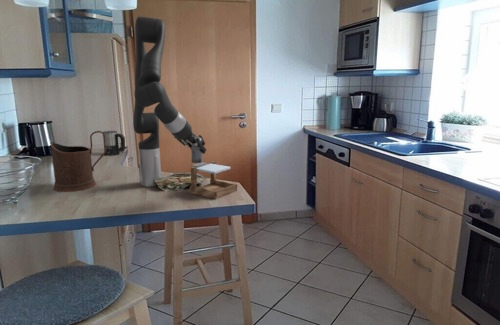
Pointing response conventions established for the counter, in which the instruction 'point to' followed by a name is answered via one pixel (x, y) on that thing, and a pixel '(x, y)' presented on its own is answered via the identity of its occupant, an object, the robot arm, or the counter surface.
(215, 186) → the stand
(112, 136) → the milk frother
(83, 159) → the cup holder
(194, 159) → the cylinder
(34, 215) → the counter surface
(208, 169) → the trapdoor
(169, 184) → the rock
